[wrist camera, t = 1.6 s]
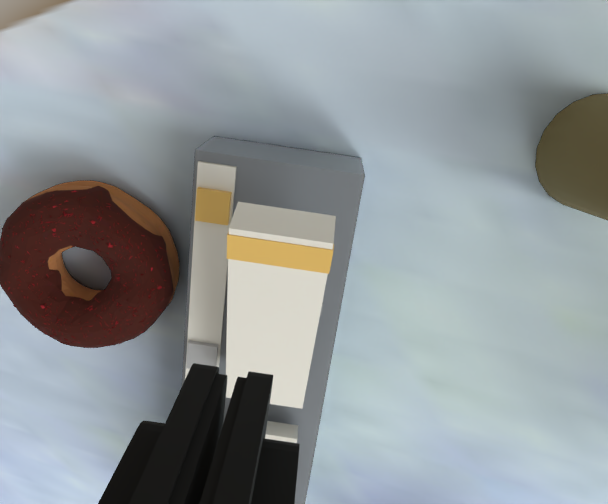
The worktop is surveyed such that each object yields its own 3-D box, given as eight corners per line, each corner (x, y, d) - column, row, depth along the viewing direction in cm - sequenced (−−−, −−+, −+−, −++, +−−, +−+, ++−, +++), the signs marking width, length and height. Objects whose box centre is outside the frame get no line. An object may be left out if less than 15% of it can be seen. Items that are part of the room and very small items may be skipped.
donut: (44, 330, 33) (7, 366, 30) (-1, 181, 30) (-49, 200, 26) (197, 324, 33) (179, 359, 29) (169, 169, 29) (145, 187, 25)
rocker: (336, 216, 21) (334, 244, 20) (306, 380, 28) (303, 409, 27) (237, 201, 21) (227, 228, 20) (231, 368, 28) (224, 397, 27)
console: (361, 157, 28) (366, 183, 23) (296, 522, 38) (290, 597, 33) (214, 136, 28) (185, 156, 23) (188, 505, 38) (164, 578, 33)
